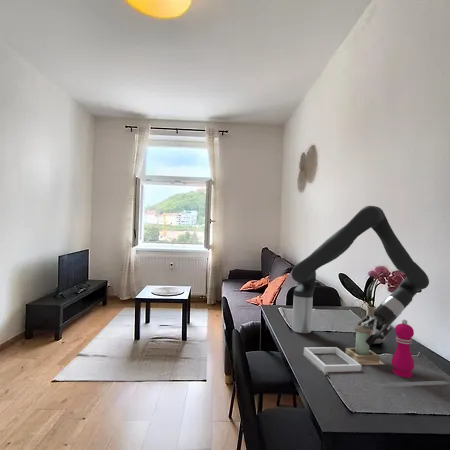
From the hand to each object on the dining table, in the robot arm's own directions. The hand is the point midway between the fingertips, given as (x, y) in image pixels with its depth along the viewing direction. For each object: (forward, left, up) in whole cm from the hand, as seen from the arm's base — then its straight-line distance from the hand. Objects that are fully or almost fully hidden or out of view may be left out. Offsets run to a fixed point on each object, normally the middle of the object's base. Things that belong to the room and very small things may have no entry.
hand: (361, 339), depth 134 cm
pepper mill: (+14, +8, -8) cm, 18 cm away
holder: (0, +1, -8) cm, 8 cm away
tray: (+2, -13, -8) cm, 16 cm away
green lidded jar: (0, +1, -7) cm, 7 cm away
